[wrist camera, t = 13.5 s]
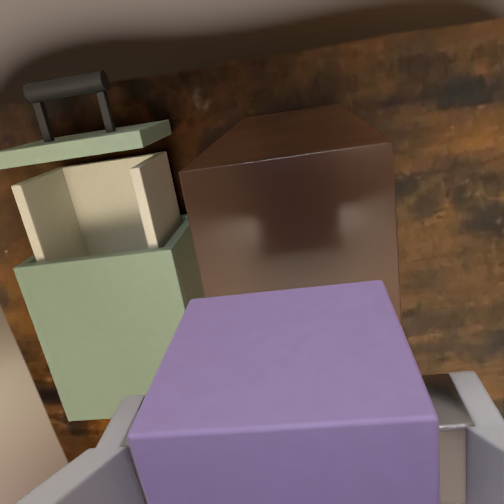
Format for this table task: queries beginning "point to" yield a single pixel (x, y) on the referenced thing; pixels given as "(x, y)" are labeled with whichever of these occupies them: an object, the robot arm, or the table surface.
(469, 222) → the table surface
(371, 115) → the table surface
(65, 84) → the drawer
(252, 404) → the lavender cube
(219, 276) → the stand
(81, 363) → the sage green nightstand
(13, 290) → the table surface
